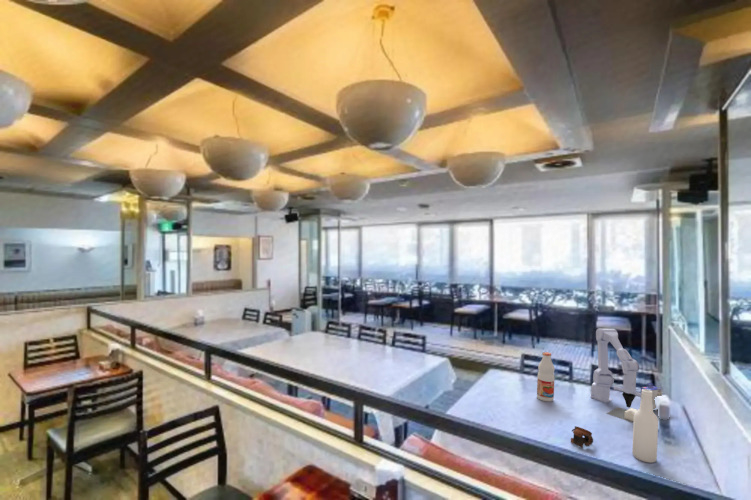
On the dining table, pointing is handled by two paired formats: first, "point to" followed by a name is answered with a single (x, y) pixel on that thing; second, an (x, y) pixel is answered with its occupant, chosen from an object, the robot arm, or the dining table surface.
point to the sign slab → (630, 414)
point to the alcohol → (645, 430)
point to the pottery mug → (581, 437)
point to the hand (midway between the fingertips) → (628, 406)
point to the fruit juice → (545, 378)
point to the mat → (619, 413)
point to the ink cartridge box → (655, 391)
